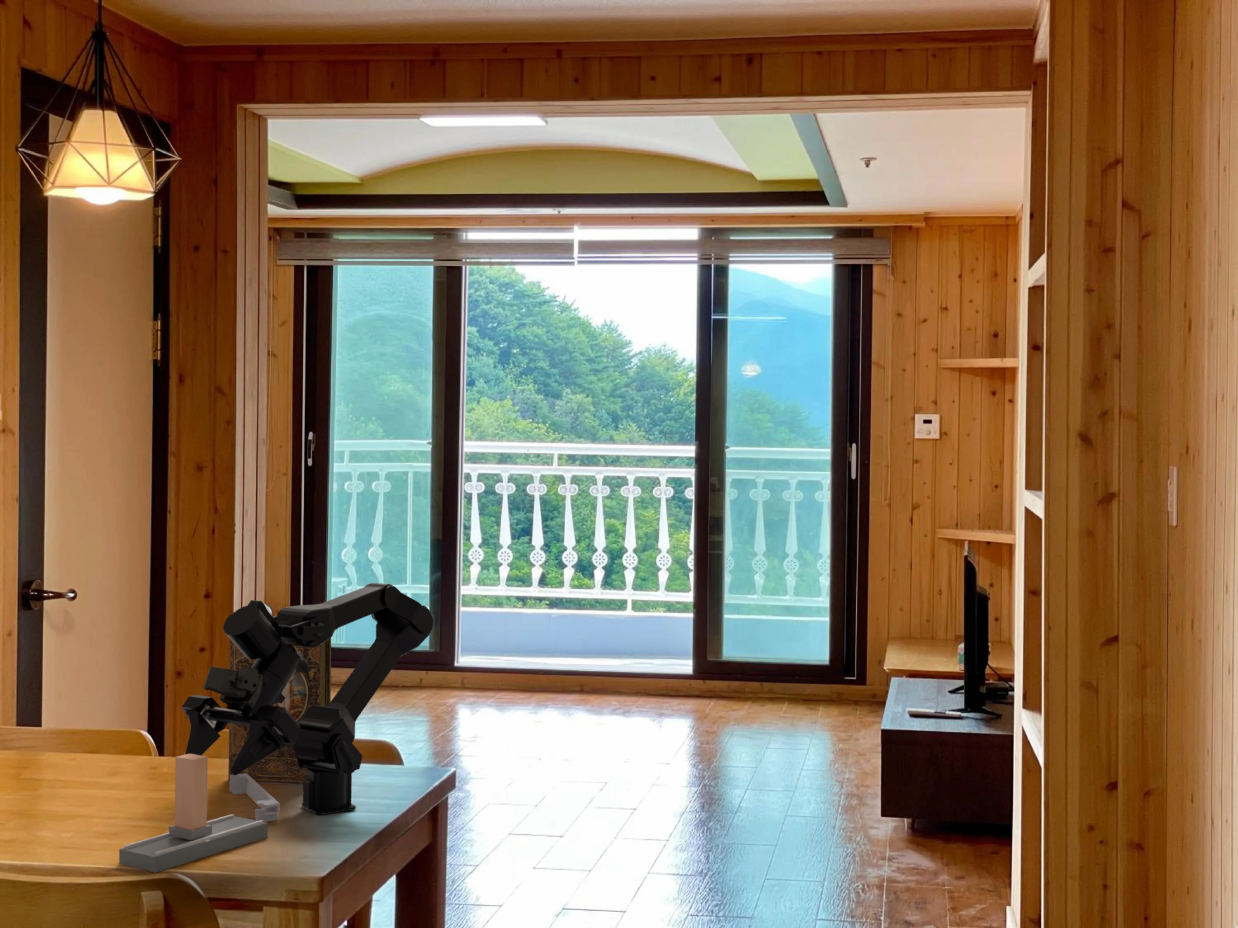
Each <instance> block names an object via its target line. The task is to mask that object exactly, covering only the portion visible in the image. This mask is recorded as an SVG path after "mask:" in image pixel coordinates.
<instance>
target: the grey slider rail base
mask: <svg viewBox="0 0 1238 928" xmlns="http://www.w3.org/2000/svg"><path fill="white" fill-rule="evenodd" d="M207 824H208V825H212V834H211V835H207V836H204V837H201V838H197V839H194V840H188V839H184V838H179V837H175V836H170V835H169V832H166V833H162V834H159V835H156V836H152V837H149V838H145V839H142V840H138V841H135V842H132V843H128V844H125V845H124V847H121V848H119V852H118V853H119V854H118V855H119V857H118V862H119V863H118V865H123V866H126V867H130V868H134V869H139V870H141V871H147V872H152V873H155V874H156V873H159V872H163V871H165V870H168V869H171V868H174V867H177V866H181V865H184V864H188V863H190V862H193V861H196V860H199V859H203V858H206V857H208V856H213V855H216V854H219V853H221V852H225V851H229V850H231V849H235V848H238V847H240V846H245V845H246V844H251V843H252V842H255V841H260V840H263V839H265V838H268V837H269V836H268V835H269V834H268V830H269V829H268V828H269V826H268V825H269V824H268V822H266V821H265V822H263V820H260V821H256V820H254V819H250V818H245V817H239V816H235V814H233V813H232V814H228V815H225V816H221V817H218V818H213V819H211V820H207Z"/></svg>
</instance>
